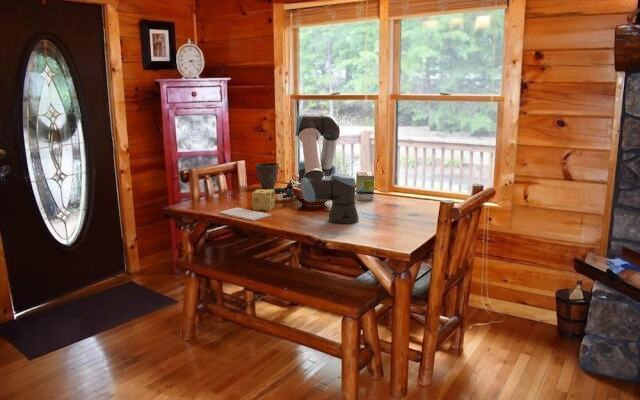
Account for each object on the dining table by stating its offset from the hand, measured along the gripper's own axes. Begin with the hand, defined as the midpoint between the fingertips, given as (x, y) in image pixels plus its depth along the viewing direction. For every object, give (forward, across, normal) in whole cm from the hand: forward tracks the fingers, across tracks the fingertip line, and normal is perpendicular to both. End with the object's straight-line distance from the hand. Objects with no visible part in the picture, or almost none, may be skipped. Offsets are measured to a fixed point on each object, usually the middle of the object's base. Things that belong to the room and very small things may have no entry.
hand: (269, 196), depth 290 cm
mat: (+21, -3, -6) cm, 22 cm away
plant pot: (-34, +35, -6) cm, 49 cm away
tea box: (-51, -30, -6) cm, 60 cm away
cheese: (+5, 0, -6) cm, 8 cm away
